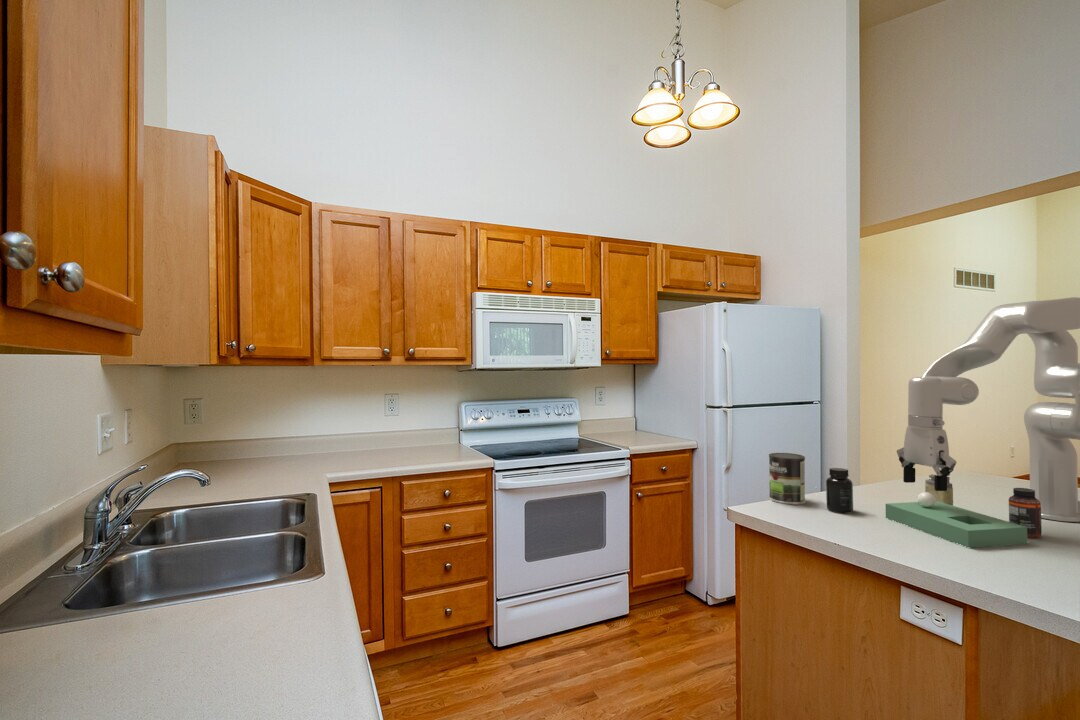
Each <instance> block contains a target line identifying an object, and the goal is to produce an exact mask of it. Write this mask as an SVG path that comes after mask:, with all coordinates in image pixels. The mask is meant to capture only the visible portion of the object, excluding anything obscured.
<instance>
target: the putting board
mask: <svg viewBox="0 0 1080 720" xmlns="http://www.w3.org/2000/svg"><path fill="white" fill-rule="evenodd" d="M887 518H888V519H887ZM885 519H887V520H890V519H891V520H890V521H892V520H894V521H893V522H895V521H896V523H898V522H899V523H898V524H901V523H902V524H901V525H903V524H905V526H906V525H908V526H907V527H909V526H911V527H910V528H912V527H914V528H913V529H915V528H916V529H915V530H917V529H919V530H918V531H920V530H922V531H921V532H923V531H924V532H923V533H926V532H927V533H926V534H928V533H930V534H929V535H931V534H932V536H934V535H935V536H934V537H937V536H938V537H937V538H939V537H941V538H940V539H942V538H943V540H945V539H946V540H945V541H948V540H949V541H948V542H950V541H952V542H951V543H953V542H955V543H954V544H956V543H958V544H957V545H959V544H961V545H963V546H962V547H964V546H966V547H965V548H967V547H976V548H987V546H988V547H990V546H991V547H1002V546H1004V547H1005V546H1019V545H1028V537H1027V527H1025V526H1022V525H1018V524H1015V523H1011V522H1009V520H1004V519H1000V518H996V517H994V516H989V515H986V514H983V513H980V512H975V511H973V510H969V509H966V508H962V507H959V506H955V505H953V506H952V505H949V504H945V503H942V502H938V501H936V503H935V505H934V506H932V507H924V506H922V505H921V504H920V503H919V502H918V501H910V502H889V503H887V502H886V503H885ZM961 545H960V546H961Z"/></svg>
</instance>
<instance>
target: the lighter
mask: <svg viewBox="0 0 1080 720" xmlns="http://www.w3.org/2000/svg"><path fill="white" fill-rule="evenodd" d="M935 475H936V474H933V473H932V474H929V475H928V478H929V479H925V482H924V483H925V484H924V492H929V493H931V494H933V495H934V497H935V498H936V501H938V502H942V503H945V504H949V505H952V506H954V488H953V483H952V482H951V481H950V480H951V478H950V476H947V491H936V490H935V489H934V477H935Z"/></svg>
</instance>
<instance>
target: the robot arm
mask: <svg viewBox="0 0 1080 720" xmlns="http://www.w3.org/2000/svg"><path fill="white" fill-rule="evenodd" d="M1079 329H1080V297H1077V296H1075V297H1074V296H1072V297H1065V298H1064V297H1063V298H1055V299H1046V300H1031V301H1030V300H1029V301H1022V302H1021V301H1020V302H1013V303H1006V304H1001V305H996V306H995V307H993V308H992V309H991V310H990V311H988V313H987V314H986V315H985V316H984V317H983V319H982V321H980V323H979V325H977V327H976V328H975V330H974V331H973V332H972V333H971V334H970V336H969V337H968V339H967V340H965V342H963V344H961V345H959V346H958V347H955V348H953V349H952V350H951V351H948V353H946V354H945V355H943V356H941V357H940V358H938V359H936V360H935V361H934V362H933V363H931V365H930V366H929V367H928V368H927V370H926V371H925V372H924V374H923V375H922V376H915V377H911V378H910V379H909V380H908V385H907V386H908V389H907V390H908V391H907V392H908V394H907V395H908V399H907V400H908V401H907V402H908V408H907V409H908V410H907V413H908V415H907V424H908V425H907V426H906V430H905V433H904V434H905V435H904V442H903V443H904V444H903V447H901V448H898V449H897V450H896V454H897V456H898V460H899V462H900V463H901V464H900V465H901V468H902V469H903V473H902V474H903V475H902V476H903V483H907V484H908V483H910V484H912V483H915V482H916V467H915V466H916V465H920V466H925V467H930V468H932V469H933V471H934V473H935V474H934V475H935V477H934V489H935V490H936V491H947V477H950V475H951V473H952V472H953V471H954V468H955V467H956V465H957V460H956V459H954V458H953V457H952V456H951V455H950V449H949V441H948V436H947V432H946V429H943V426H944V425H945V421H944V420H943V419H944V418H943V417H944V414H943V412H944V411H943V410H944V409H943V407H944V406H943V405H952V406H954V405H955V406H966V405H969V404H971V403H973V402H975V401H976V400H977V398H978V397H979V394H980V390H979V386H978V385H977V383H975V382H974V381H973V380H971V379H970V378H966V377H962V376H960V375H962V374H964V373H966V372H968V371H971V370H975V369H978V368H982V367H985V366H988V365H990V364H993V363H994V362H997V361H998V360H1000V359H1001V357H1002V356H1003V355H1004V353H1005V352H1006V351H1007V349H1008V347H1009V346H1010V345H1011V344H1012V343H1013V342H1014V340H1016V338H1017V337H1018V336H1019V335H1023V334H1026V335H1028V337H1029V338H1030V340H1031V341H1032V342H1033V344H1034V349H1035V350H1034V351H1035V352H1034V353H1035V357H1034V359H1035V360H1034V373H1033V385H1034V390H1035V391H1036V392H1037V394H1040V395H1042V396H1044V397H1050V398H1059V399H1060V398H1061V399H1074V400H1075V402H1074V403H1071V402H1070V403H1069V402H1059V401H1058V402H1057V401H1042V402H1036V403H1032V404H1031V405H1029V406H1028V407H1027V408H1026V410H1025V412H1024V414H1023V421H1024V426H1025V429H1026V433H1027V438H1028V444H1029V445H1028V446H1029V489H1032V490H1035V498H1036V499H1038V500H1039V501H1040V503H1041V519H1045V520H1051V521H1056V522H1057V521H1058V522H1059V521H1060V522H1066V523H1067V522H1069V523H1072V522H1073V523H1080V500H1079V488H1078V487H1079V485H1078V477H1079V476H1078V452H1077V450H1076V448H1075V446H1074V445H1073V444H1074V443H1072V442H1071V440H1079V441H1080V363H1079V357H1078V356H1079V352H1078V351H1079V346H1078V343H1077V341H1076V339H1075V337H1073V335H1072V334H1071V333H1070V332H1069V331H1072V330H1079Z"/></svg>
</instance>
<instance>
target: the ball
mask: <svg viewBox="0 0 1080 720" xmlns="http://www.w3.org/2000/svg"><path fill="white" fill-rule="evenodd" d="M917 502H919V503H920V504H921V505H922V506H924V507H932V506H934V505H935V503H936V498H935V497H934V495H933V494H931V493H929V492H925V491H922V492H921V493H919V494H918V496H917Z"/></svg>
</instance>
